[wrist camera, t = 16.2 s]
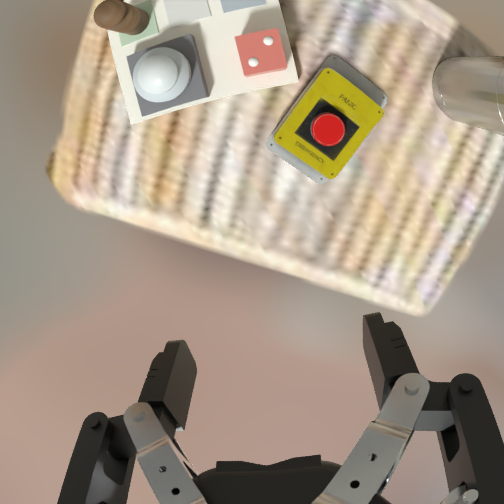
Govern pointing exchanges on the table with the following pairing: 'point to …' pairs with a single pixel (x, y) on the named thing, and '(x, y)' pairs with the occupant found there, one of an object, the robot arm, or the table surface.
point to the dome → (161, 74)
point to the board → (199, 49)
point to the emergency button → (328, 121)
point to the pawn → (121, 17)
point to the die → (261, 52)
